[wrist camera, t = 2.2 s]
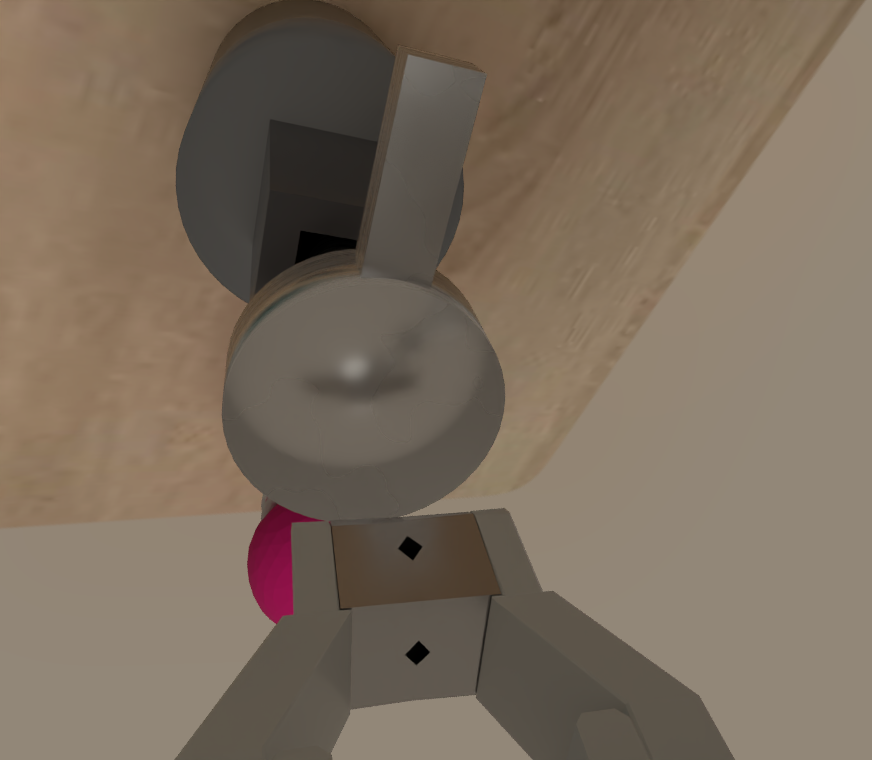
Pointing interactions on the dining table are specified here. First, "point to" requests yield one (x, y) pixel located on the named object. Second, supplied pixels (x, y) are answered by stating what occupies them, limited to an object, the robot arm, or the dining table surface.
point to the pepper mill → (273, 559)
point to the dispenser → (284, 141)
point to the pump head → (373, 333)
